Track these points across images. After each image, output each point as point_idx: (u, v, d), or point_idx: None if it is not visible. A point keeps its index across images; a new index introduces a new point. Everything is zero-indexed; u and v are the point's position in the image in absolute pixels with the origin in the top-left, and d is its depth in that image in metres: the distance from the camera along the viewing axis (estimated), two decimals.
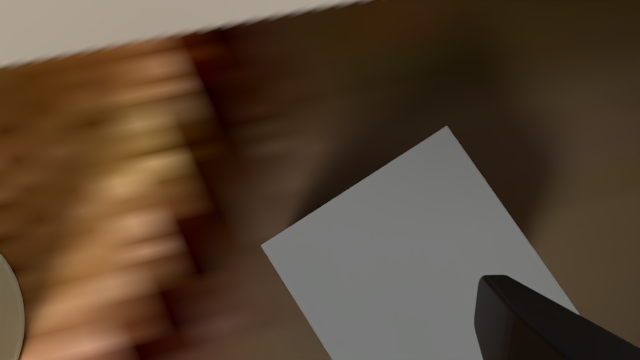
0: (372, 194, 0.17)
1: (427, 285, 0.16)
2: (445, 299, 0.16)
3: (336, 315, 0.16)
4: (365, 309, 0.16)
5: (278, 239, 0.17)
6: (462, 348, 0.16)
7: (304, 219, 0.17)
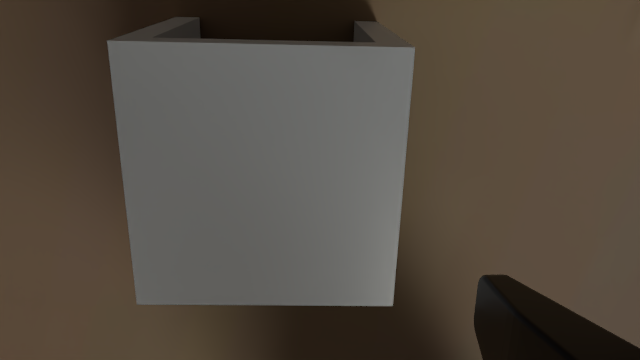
0: None
1: None
2: None
3: None
4: None
5: None
6: None
7: None
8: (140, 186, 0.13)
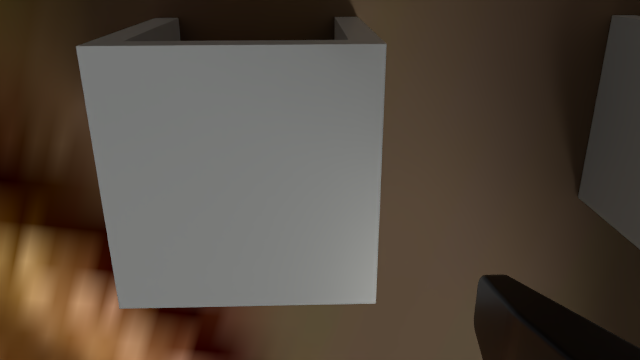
0: (120, 180, 0.13)
1: (252, 183, 0.13)
2: (277, 174, 0.13)
3: (228, 281, 0.14)
4: (239, 253, 0.14)
5: (121, 291, 0.14)
6: (336, 188, 0.14)
7: (113, 259, 0.14)
8: None
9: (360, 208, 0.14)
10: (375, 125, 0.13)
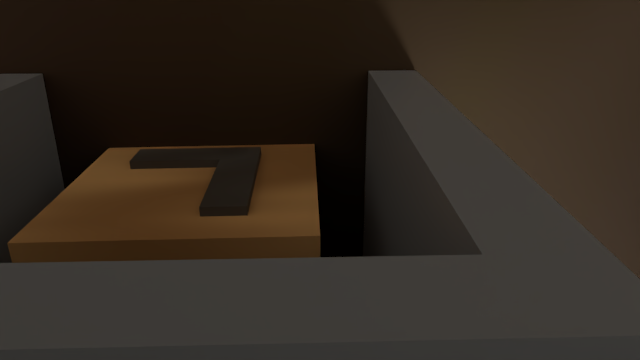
0: None
1: None
2: None
3: None
4: None
5: None
6: None
7: None
8: None
9: None
10: None
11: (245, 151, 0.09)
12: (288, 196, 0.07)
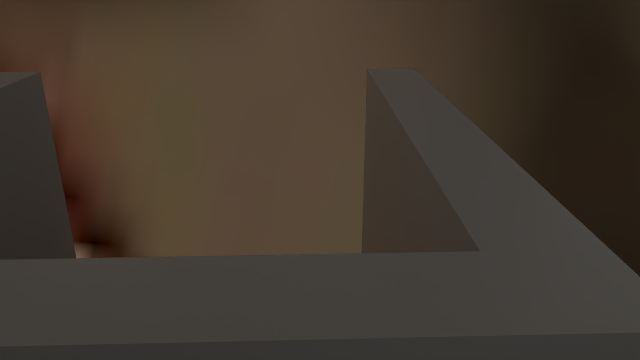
0: None
1: None
2: None
3: None
4: None
5: None
6: None
7: None
8: None
9: None
10: None
11: None
12: None
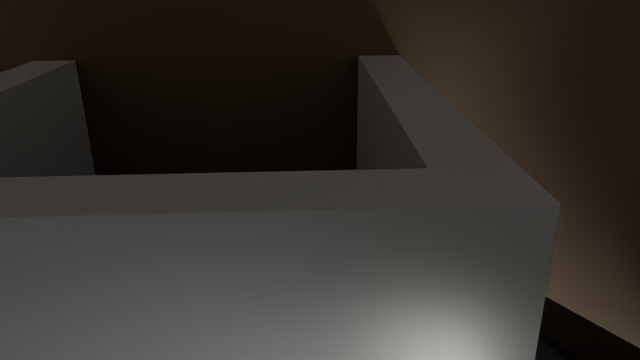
0: None
1: None
2: None
3: None
4: None
5: None
6: None
7: None
8: None
9: None
10: None
11: None
12: None
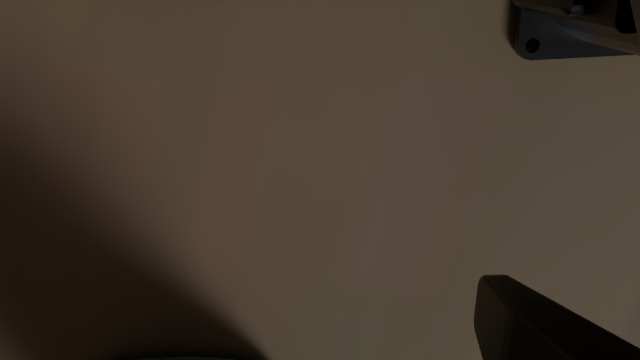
0: None
1: None
2: None
3: None
4: None
5: None
6: None
7: None
8: None
9: None
10: None
11: None
12: None
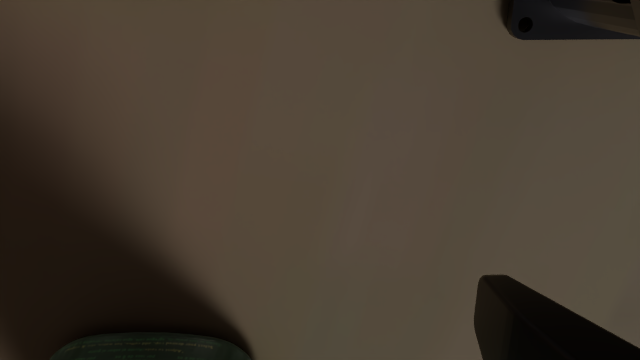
0: None
1: None
2: None
3: None
4: None
5: None
6: None
7: None
8: None
9: None
10: None
11: None
12: None
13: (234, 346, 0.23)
